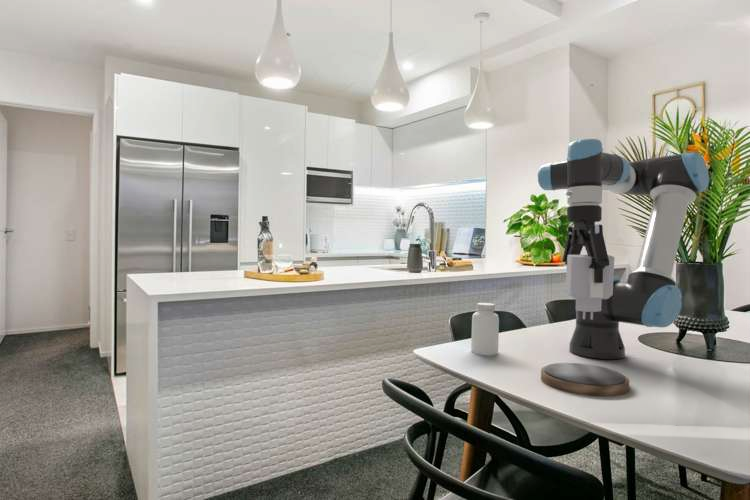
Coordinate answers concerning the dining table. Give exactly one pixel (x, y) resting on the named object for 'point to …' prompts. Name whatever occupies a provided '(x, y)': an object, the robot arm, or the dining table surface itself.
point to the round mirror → (585, 379)
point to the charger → (587, 283)
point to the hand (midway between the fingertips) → (583, 294)
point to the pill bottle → (485, 330)
